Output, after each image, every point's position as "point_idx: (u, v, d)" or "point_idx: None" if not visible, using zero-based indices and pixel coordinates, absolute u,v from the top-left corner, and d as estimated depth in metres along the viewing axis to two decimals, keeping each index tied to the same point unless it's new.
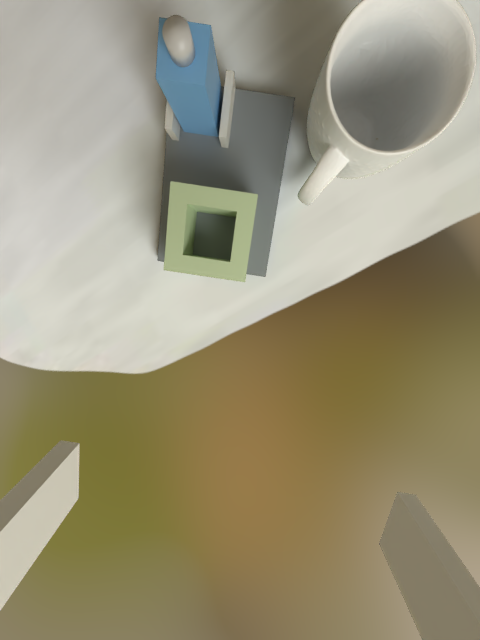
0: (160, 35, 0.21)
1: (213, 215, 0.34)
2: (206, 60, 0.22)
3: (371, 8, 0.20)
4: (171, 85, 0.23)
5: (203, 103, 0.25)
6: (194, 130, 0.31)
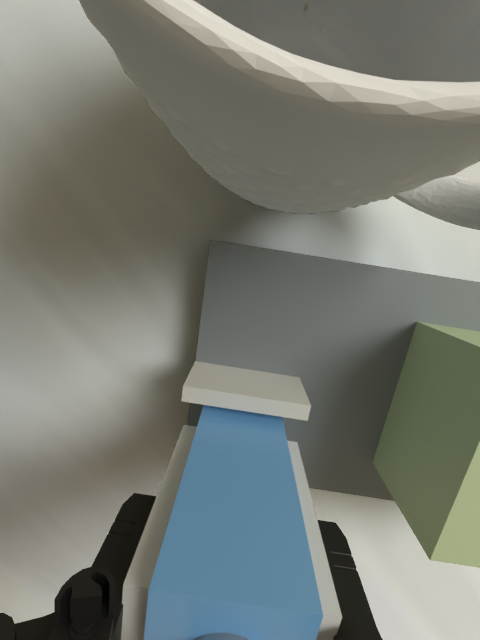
0: None
1: None
2: (247, 605, 0.06)
3: None
4: None
5: None
6: None
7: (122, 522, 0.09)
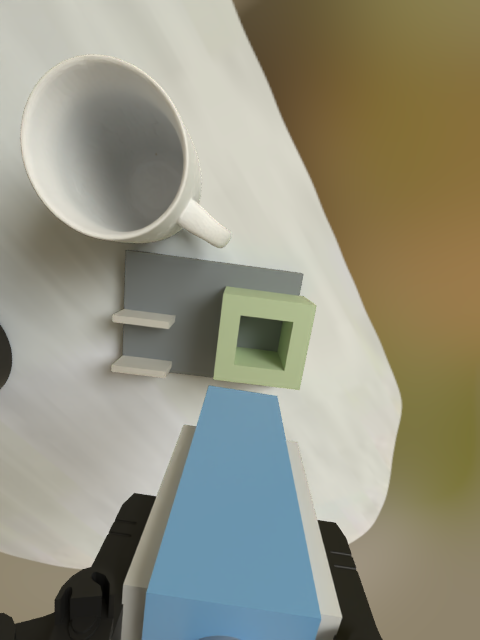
0: None
1: None
2: (245, 608, 0.06)
3: (51, 194, 0.19)
4: None
5: None
6: None
7: (122, 522, 0.09)
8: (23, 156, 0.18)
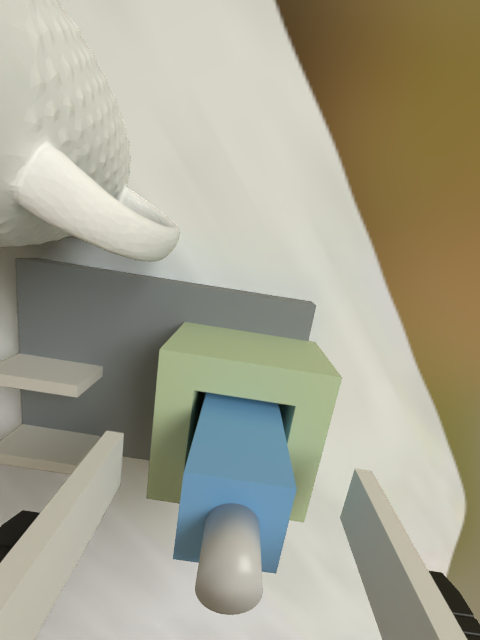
0: None
1: (205, 392, 0.20)
2: (247, 482, 0.10)
3: None
4: None
5: None
6: None
7: None
8: None
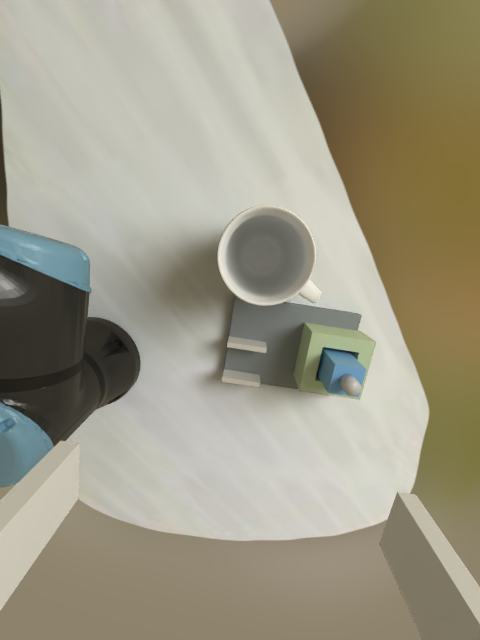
0: (336, 392, 0.35)
1: None
2: (352, 367, 0.35)
3: (227, 277, 0.32)
4: None
5: None
6: None
7: None
8: (218, 257, 0.30)
